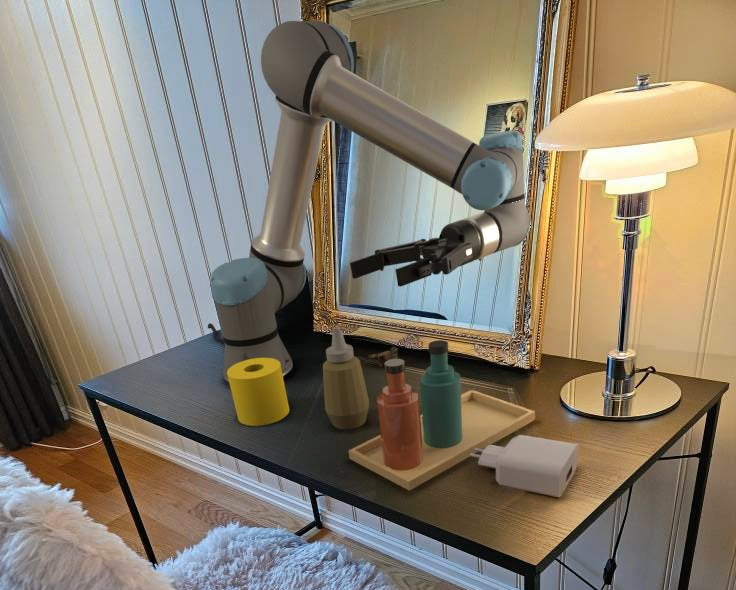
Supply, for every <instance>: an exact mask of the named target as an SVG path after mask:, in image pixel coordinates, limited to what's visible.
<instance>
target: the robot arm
mask: <svg viewBox="0 0 736 590" xmlns="http://www.w3.org/2000/svg"><path fill="white" fill-rule="evenodd" d="M352 49H353V48H352V47H351V44H350V42H349V40H348V39H347V37H346V36H345V34H343V32H342V31H341V30H340V29H338V28H337V26H335V25H332V24H331V23H330V24H329V23H326V21H325V22H324V21H320V20H307V21H306V20H305V21H301V20H300V21H299V20H288V21H284V22H282V23H280V24H277V25H276V26H275V27H274V28H272V30H270V32H269V33H268V34H267V36H266V38H265V40H264V41H263V44H262V48H261V54H260V67H261V73H262V75H263V79H264V81H265V82H266V85H267V86H268V88H269V89H270V90H271V92H272V93H273V94H274V95H275V97H274V100H275V102H276V103H277V105H278V108H279V109H280V117H279V123H278V130H277V135H276V141H275V142H276V143H275V147H274V152H273V158H272V164H271V170H270V177H269V182H268V187H267V194H266V200H265V205H264V210H263V216H262V222H261V228H260V233H259V234H258V235H256V236H255V237H253V238H252V239H251V244H250V249H249V254H248V255H249V256H248V257H241V258H236V259H232V260H231V261H228V262H224V263H222V264H220V265H219V266H217V267H215V269H214V270H213V271H212V272H211V275H210V277H209V282H210V290H211V291H210V292H211V297H212V299H213V302H214V306H215V310H216V314H217V318H218V322H219V327H220V330H221V335H222V338H220V337H218V331H217V329H216V328H215V326H214V324H213V323H211V322H209V323H208V324H207V329H211V331H212V335H213V339H214V341H216V342H217V343H221V344H224V353H223V363H222V375H223V380H224V383H225V384H226V385H228V386H229V387H230V383H229V379H228V375H227V371H228V369H229V368H230V367H231V366H233V365H235V364H237V363H239V362H242V361H245V360H249V359H254V358H273V359H276V360H278V361H279V362H280V364H281V369H282V375H283V380H286V379H287V378H288V377H289V376H291V375H292V373H293V372H294V365H293V360H292V357H291V356H290V354H289V352H288V350H287V348H286V346H285V345H284V343H283V341H282V339H281V337H280V335H279V330H278V324H277V320H276V313H278V312H279V311H280V310H281V309H283V308H284V307H286V306H287V305H288V304H290V303H291V302H293V301H295V299H297V298H298V296H299V295H300V293H301V292H302V291H303V289H304V287H305V284H306V280H307V268H306V265H305V264H304V262H305V261H304V260H305V256H306V254H305V251H304V249H303V247H302V246H301V242H302V236H303V232H304V227H305V223H306V218H307V214H308V208H309V204H310V199H311V195H312V189H313V186H314V180H315V176H316V171H317V167H318V162H319V158H320V157H319V156H320V152H321V148H322V144H323V139H324V135H325V134H324V133H325V129H326V125H327V124H329V123H331V122H334V123H336V124H338V125H339V126H341V127H343V128H345V129H347V130H349V131H350V132H352V133H354V134H356V135H357V136H359V137H361V138H363V139H365V140H366V141H368V142H369V143H371V144H373V145H375V146H377V147H378V148H381V149H383V150H384V151H385V152H387V153H389V154H391V155H392V156H394V157H396V158H398V159H399V160H401V161H403V162H405V163H407V164H409V165H410V166H412V167H414V168H415V169H416V170H419V171H420V172H423V173H424V174H426V175H428V176H430V177H431V178H432V179H435V180H437V181H438V182H440V183H442V184H444V185H445V186H447V187H449V188H451V189H453V190H454V191H456V192H457V193H459V194H461V195H462V197H463V199H464V201H465V202H466V204H467V205H468V206H469V207H471V208H472V209H475V210H477V211H482V212H479V213H476V214H472V215H470V216H467V217H463V218H462V219H460V220H456V221H454V222H451V223H448V224H446V225H444V227H442V229H441V230H440V234H439V237H431V238H429V239H428V240H426V238H421V239H419V240H415V241H412V242H408V243H403V244H398V245H394V246H390V247H389V246H388V247H385V248H381V249H376V250H374V253H373V254H372V255H369V256H366V257H363V258H360V259H357V260H354V261H351V262H349V266H350V273H351V278H352V279H354V280H355V279H358V278H361V277H364V276H367V275H369V274H372V273H376V272H378V271H380V272H384V269H385V267H388V266H394V265H395V266H396V265H400V264H406V265H403V266H401V267H399V268H395V276H396V282H397V287H400V288H401V287H405V286H408V285H409V284H411V283H414V282H418V281H421V280H423V279H425V278H427V277H430V276H432V275H436V276H437V275H440V274H441V272H442V274H443V275H445V276H448V275H449V274H451V273H452V272H453V271H455V270H457V268H459V267H463V266H465V265H468V264H470V263H473V262H475V261H477V260H478V261H480V262H483V261H484V259H485V257H487V256H490V255H493V254H496V253H498V252H501V251H504V250H507V249H509V248H512V247H517V246H520V243H521V242H522V241H523V240H524V239H525V238H526V236H527V235H528V232H529V231H530V228H531V226H530V225H531V217H530V215H529V213H528V210H527V208H526V205H525V199H526V195H525V194H526V193H525V178H524V173H525V172H524V147H523V140H522V134H521V132H519V131H518V130H507V131H501V132H496V133H491V134H487V135H485V136H483V137H481V138H480V140H479V142H478V144H477V143H475V142H474V141H472V140H471V139H469V138H467V137H465V136H464V135H462V134H461V133H458V131H457V132H456V131H455V130H454V129H452V128H449V127H448V126H446V125H444V124H443V123H441V122H439V121H437V120H436V119H434V118H432V117H430V116H428V115H427V114H425V113H423V112H421V111H420V110H418V109H416V108H414V107H413V106H412V105H410V104H408V103H406V102H404V101H403V100H402V99H399V98H397V97H396V96H394V95H392V94H391V93H388V92H387V91H385V90H383V89H381V88H380V87H378V86H376V85H375V84H373V83H371V82H369V81H367V80H366V79H364V78H362V77H360V76H359V75H357V74H355V73H354V70H355V59H354V53H353V50H352ZM519 200H520V201H519ZM516 201H517V202H516ZM512 202H513V203H512ZM521 244H522V243H521ZM421 256H422V257H421ZM407 263H409V264H407Z"/></svg>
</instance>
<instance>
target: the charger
mask: <svg viewBox="0 0 736 590" xmlns="http://www.w3.org/2000/svg"><path fill="white" fill-rule="evenodd" d="M579 448H580V445H579V444H578V443H572V442H566V441H561V440H554V439H549V438H548V439H547V438H543V437H538V436H537V437H535V436H531V435H525V434H524V435H523V434H519V435H517V436H514V437H512V438H511V439H510V441H509V442H508V443H507V444H506V446H500V445H495V444H494V445H493V444H491V445H488V446H487V447H486V448H484V449H477V448H475V449H474V451H477V453H480V454H477V453H475V454H470V457H473V458H478V461H477V465H478V466H481V467H484V468H490V469H495V480H496V482H497V484H498V485H499V486H503V487H508V488H511V489H518V490H523V491H526V492H531V493H535V494H541V495H545V496H549V497H555V498H561V497H562V495H563V493H564V492H565V490H566V488H567V487H568V485H569V483H570V482H571V480H572V478H573V476H574V475H575V473H576V470H577V467H578V463H579V462H578V461H579V450H580V449H579Z"/></svg>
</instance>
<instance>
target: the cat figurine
mask: <svg viewBox="0 0 736 590" xmlns="http://www.w3.org/2000/svg"><path fill="white" fill-rule="evenodd" d="M398 353H399V349H398V348H397V347H396V346H392V347H390V350H386V351H383V352H380V353H375V354H374V353H373V354H369V355H367V357H366V359H367V360H377V362H378V366H379V367H380V368H383V367H384V363H385V362H386V361H388V360H391V359H398Z"/></svg>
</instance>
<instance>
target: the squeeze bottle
mask: <svg viewBox="0 0 736 590" xmlns="http://www.w3.org/2000/svg"><path fill="white" fill-rule="evenodd" d="M325 356H326V360H325V362H324V363H322V372H323V373H322V374H323V375H322V377H323V378H322V379H323V397H324V398H323V399H324V411H325V413H326V415H327V417H328V418H329V420H330V422H331V425H333V426H334V428H335V429H336V428H337V429H339V430H352V429H353V430H354V429H356V428H359V427H361V426H363V425H364V424H365V423H366V421H367V417H368V413H369V408H370V399H369V395H368V390H367V387H366V382H365V377H364V374H363V368H362V364H361V360H360V359H359V358H358V357H357V356H354V348H353V346H352V345H351V344H348V343H346V341H345V337H344V334H343V332H342V330H341V327H340V326H334V327H332V336H331V346H328V347H327V348H326V350H325Z"/></svg>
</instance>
